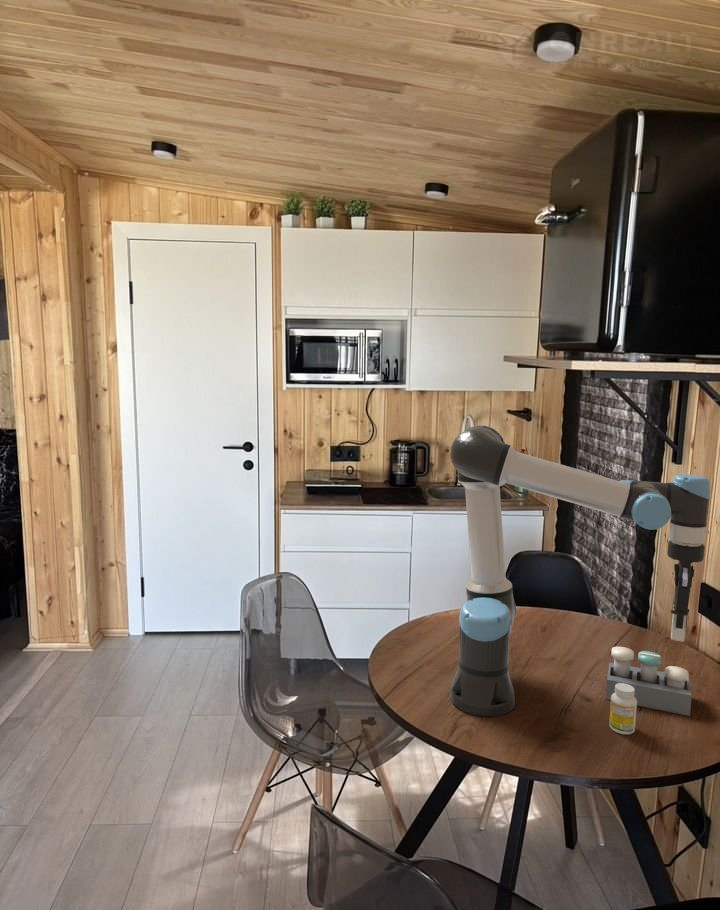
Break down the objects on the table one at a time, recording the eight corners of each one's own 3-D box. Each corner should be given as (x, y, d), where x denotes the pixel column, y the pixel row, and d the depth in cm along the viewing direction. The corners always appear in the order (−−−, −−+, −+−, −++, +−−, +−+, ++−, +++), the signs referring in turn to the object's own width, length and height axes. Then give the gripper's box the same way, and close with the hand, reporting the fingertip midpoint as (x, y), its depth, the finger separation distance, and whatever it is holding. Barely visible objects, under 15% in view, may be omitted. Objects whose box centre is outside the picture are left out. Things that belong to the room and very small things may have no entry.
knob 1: (632, 682, 152) (633, 657, 151) (609, 678, 154) (611, 653, 153) (632, 673, 156) (634, 648, 155) (610, 669, 158) (612, 645, 157)
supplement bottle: (627, 738, 136) (630, 696, 135) (604, 727, 140) (606, 686, 139) (639, 729, 139) (642, 688, 138) (616, 719, 144) (619, 679, 142)
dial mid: (659, 687, 149) (661, 660, 148) (636, 683, 151) (638, 656, 150) (659, 678, 154) (661, 652, 153) (636, 674, 156) (638, 648, 155)
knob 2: (687, 703, 147) (689, 677, 146) (663, 699, 149) (665, 673, 148) (686, 693, 152) (688, 668, 151) (663, 689, 154) (664, 664, 153)
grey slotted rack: (689, 716, 145) (691, 695, 144) (605, 699, 152) (607, 679, 152) (687, 696, 154) (688, 676, 153) (608, 680, 161) (609, 662, 161)
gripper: (707, 551, 138) (697, 653, 141) (702, 537, 150) (693, 632, 153) (669, 546, 141) (660, 647, 144) (667, 533, 153) (659, 626, 156)
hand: (677, 639), depth 149 cm, fingers closed
